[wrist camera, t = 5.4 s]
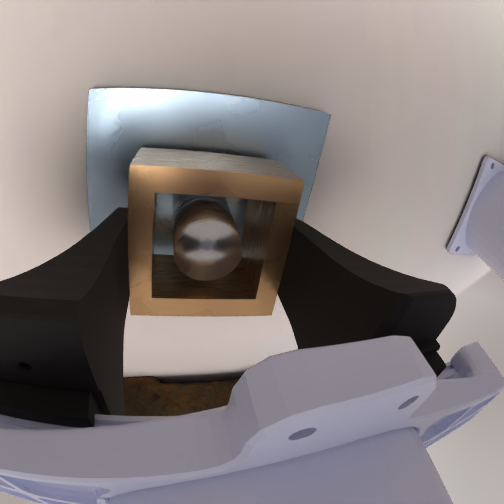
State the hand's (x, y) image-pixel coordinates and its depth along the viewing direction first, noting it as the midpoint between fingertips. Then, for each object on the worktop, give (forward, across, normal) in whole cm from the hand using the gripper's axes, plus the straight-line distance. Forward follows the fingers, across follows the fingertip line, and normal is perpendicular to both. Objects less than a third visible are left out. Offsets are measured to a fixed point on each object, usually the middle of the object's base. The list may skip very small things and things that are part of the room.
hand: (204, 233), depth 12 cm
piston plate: (+3, 0, 0) cm, 3 cm away
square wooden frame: (+2, 0, 0) cm, 2 cm away
